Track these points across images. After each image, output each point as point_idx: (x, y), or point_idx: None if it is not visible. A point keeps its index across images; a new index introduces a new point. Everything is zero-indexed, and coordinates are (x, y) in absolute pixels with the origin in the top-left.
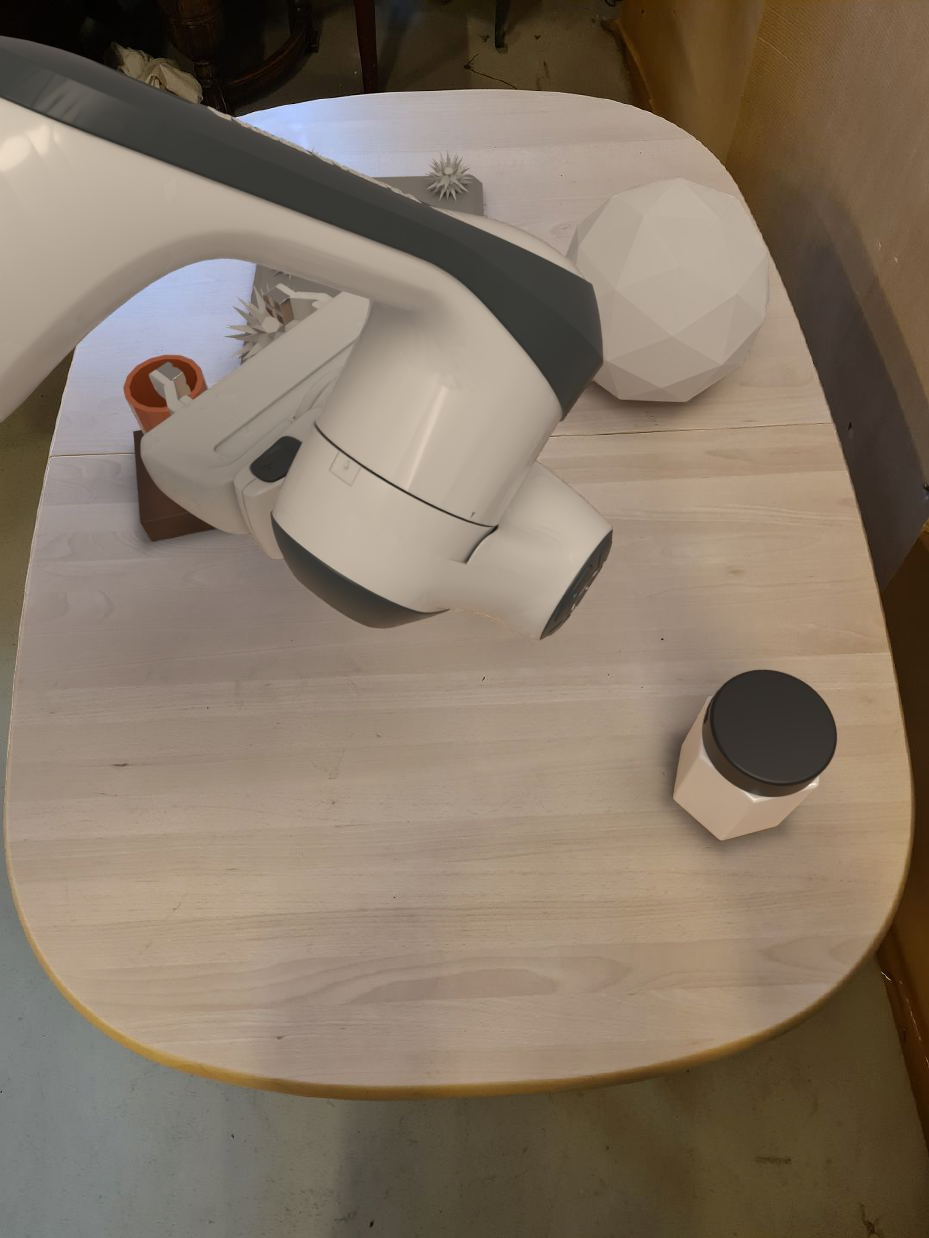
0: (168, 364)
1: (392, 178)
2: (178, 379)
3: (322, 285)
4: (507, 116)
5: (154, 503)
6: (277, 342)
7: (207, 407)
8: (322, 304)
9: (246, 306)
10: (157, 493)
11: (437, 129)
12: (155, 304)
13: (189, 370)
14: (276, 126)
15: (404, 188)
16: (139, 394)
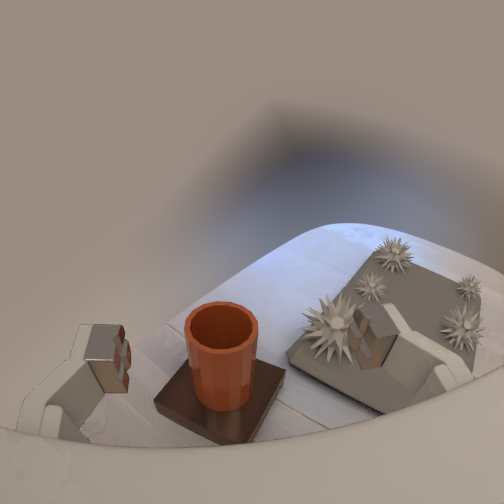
0: (113, 330)
1: (439, 275)
2: (100, 365)
3: None
4: (491, 274)
5: (172, 394)
6: (330, 444)
7: (28, 482)
8: (452, 376)
9: (328, 302)
10: (180, 389)
11: (460, 265)
12: (281, 275)
13: (250, 327)
14: (387, 231)
15: (444, 282)
16: (204, 322)
